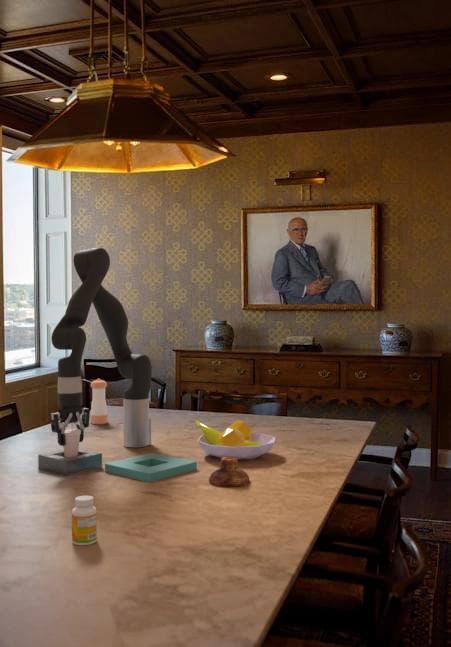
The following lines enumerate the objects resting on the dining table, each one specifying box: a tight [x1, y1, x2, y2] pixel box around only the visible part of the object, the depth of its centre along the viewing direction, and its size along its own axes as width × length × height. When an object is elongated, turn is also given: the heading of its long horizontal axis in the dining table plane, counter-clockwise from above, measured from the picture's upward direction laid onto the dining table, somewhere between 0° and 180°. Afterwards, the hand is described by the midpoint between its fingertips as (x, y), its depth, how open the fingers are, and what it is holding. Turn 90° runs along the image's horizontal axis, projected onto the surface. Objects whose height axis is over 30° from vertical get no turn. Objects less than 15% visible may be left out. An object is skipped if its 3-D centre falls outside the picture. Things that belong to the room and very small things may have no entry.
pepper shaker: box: [90, 378, 109, 425], centre depth 305 cm, size 7×7×19 cm
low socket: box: [104, 452, 198, 483], centre depth 219 cm, size 20×20×2 cm
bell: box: [208, 457, 250, 488], centre depth 206 cm, size 12×12×7 cm
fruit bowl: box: [194, 419, 276, 461], centre depth 240 cm, size 28×27×11 cm
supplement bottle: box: [71, 495, 98, 547], centre depth 155 cm, size 5×5×10 cm
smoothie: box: [62, 422, 81, 458], centre depth 223 cm, size 6×6×14 cm
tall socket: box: [37, 447, 103, 477], centre depth 223 cm, size 14×14×4 cm
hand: (70, 443), depth 223 cm, fingers closed on smoothie, 6 cm apart
